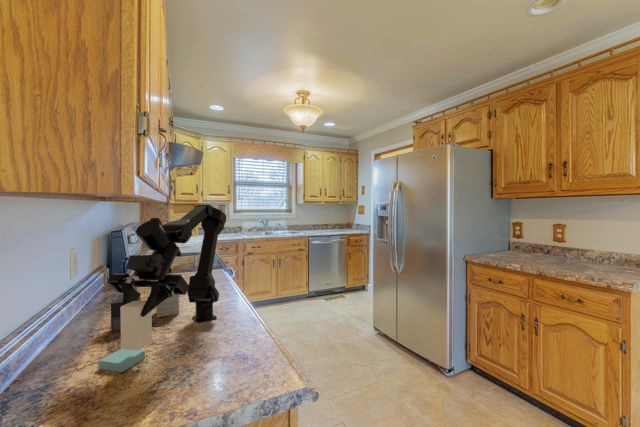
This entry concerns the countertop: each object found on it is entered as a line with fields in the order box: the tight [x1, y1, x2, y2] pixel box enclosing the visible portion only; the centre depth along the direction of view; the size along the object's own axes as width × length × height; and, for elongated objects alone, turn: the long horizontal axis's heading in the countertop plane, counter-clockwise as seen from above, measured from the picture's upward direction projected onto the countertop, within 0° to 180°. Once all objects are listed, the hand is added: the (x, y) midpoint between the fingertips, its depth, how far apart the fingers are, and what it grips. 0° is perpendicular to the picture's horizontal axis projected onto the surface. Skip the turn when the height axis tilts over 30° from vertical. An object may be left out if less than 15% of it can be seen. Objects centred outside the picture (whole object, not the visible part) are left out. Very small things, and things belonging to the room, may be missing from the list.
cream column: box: [120, 300, 153, 350], centre depth 71 cm, size 4×4×10 cm
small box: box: [109, 291, 142, 332], centre depth 95 cm, size 11×6×10 cm, turn 21°
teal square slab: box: [98, 348, 146, 373], centre depth 71 cm, size 6×6×2 cm
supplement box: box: [156, 291, 180, 318], centre depth 110 cm, size 7×7×13 cm
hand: (132, 315), depth 69 cm, fingers closed on cream column, 4 cm apart
